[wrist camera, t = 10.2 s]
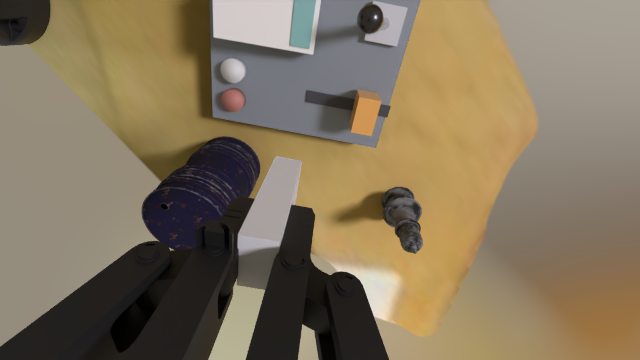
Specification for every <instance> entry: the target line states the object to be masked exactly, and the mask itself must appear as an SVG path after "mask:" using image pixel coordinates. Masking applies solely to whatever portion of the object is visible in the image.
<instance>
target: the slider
mask: <svg viewBox="0 0 640 360" xmlns="http://www.w3.org/2000/svg"><path fill="white" fill-rule="evenodd" d="M380 105H381V99H380V98H379V96H378V94H377V93H374V92H369V91H364V90H359V89H357V93H356V97H355V101H354V106H353V110H352V114H351V118H350V129H351V133H357V134H362V135H367V136H372V133H373V129H374V126H375V122H376V119H377V115H378V112H379V108H380Z"/></svg>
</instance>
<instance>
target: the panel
mask: <svg viewBox="0 0 640 360" xmlns="http://www.w3.org/2000/svg"><path fill="white" fill-rule="evenodd" d="M419 3H420V0H321V5H320V12H319V18H318V25H317V32H316V39H315V46H314V53H313V55H312V54H306V53H300V52H295V51H289V50H283V49H278V48H272V47H266V46H260V45H255V44H249V43H243V42H238V41H232V40H226V39H221V38H215V37H213V0H209V12H210V44H211V76H212V108H213V117H215V118H220V119H225V120H231V121H236V122H241V123H247V124H252V125H257V126H263V127H268V128H273V129H279V130H284V131H290V132H295V133H300V134H306V135H311V136H316V137H322V138H327V139H332V140H338V141H343V142H348V143H354V144H359V145H364V146H370V147H375V148H376V146H377V143H378V140H379V136H380V133H381V130H382V126H383V123H384V120H385V117H387V116H388V113H389V110H390V107H391V106H389V103H390V100H391V96H392V93H393V90H394V86H395V83H396V80H397V77H398V73H399V70H400V67H401V63H402V60H403V57H404V53H405V50H406V47H407V43H408V40H409V37H410V33H411V30H412V27H413V23H414V20H415V17H416V13H417V10H418V7H419ZM367 4H376V5H378V6H379V7H380V8H381V10H382V12H383V16H385V17H387V18H388V19H389V22H390V24H389V27H388V28H387V29H386V30H377V31H376V32H374V33H372V34H366V33H364V32H362V31H361V30H360V29H359V27H358V24H357V16H358V13H359V11H360V10H361V8H362V7H364V6H365V5H367ZM357 89H359V90H364V91H369V92H374V93H377V94H378V96H379V98H380V99H381V105H380V108H379V112H378V115H377V119H376V122H375V126H374V129H373V133H372V136H367V135H362V134H357V133H351V129H350V118H351V114H352V110H353V106H354V101H355V97H356V93H357Z"/></svg>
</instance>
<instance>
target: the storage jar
mask: <svg viewBox="0 0 640 360" xmlns="http://www.w3.org/2000/svg"><path fill="white" fill-rule="evenodd" d="M259 174H260V163H259V159H258V157H257V155H256V153H255V152H254V151H253V149H252V148H251V147H250V146H249V145H247V144H246V143H244V142H243V141H241V140H239V139H236V138H233V137H218V138H215V139H212V140H211V141H209V142H208V143H207V144H206V145H204V146H203V147H201V148H200V149H199V150H198V151H196V152H195V153H194V154H193V155H192V156H191V157H190V158H189V160H188V161H187V163H186V165H185V166H183V167H181V168H179V169H177V170H175V171H174V172H172V173H171V174H170V175H169V176H168V177H167V178H166V179H165V180H164V181H162V182H161V183H160V185H159V186H158V187H157V188H156V190H154V191H153V192H152V193H150V194H149V195H148V197H146V199H145V200H144V202H143V205H142V218H143V220H144V223H145V225H146V227H147V229H148V230H149V231H150V233H151V234H152V235H153V236H154V237H155V238H156V239H157V240H159V241H160V242H163V243H165V244H166V245H168V247H169V248H171V249H174V250H185V249H191V248H194V247H196V238H195V228H196V227H197V226H198V225H199V224H201V223H203V222H205V221H210V220H220V219H221V217H222V216H223V214H224V212H225V211H226V210H227V207H228V206H229V204H230V202H231V201H233V200H234V199H236V198H237V197H239V196H241V197H246V198H248V197H249V196H250V194H251V192H252V190H253V188H254V186H255V184H256V181H257V179H258V177H259Z"/></svg>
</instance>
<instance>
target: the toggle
mask: <svg viewBox="0 0 640 360" xmlns="http://www.w3.org/2000/svg"><path fill="white" fill-rule="evenodd" d="M357 24H358V27H359V29H360V30H361V31H362V32H364V33H366V34H372V33H374V32H376V31H377V30H386V29H387V28H388V27H389V24H390V22H389V19H388V18H387V17H385V16H383V12H382V10H381V8H380V7H379V6H378V5H376V4H367V5H365V6H364V7H362V8H361V10H360V11H359V13H358V16H357Z"/></svg>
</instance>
